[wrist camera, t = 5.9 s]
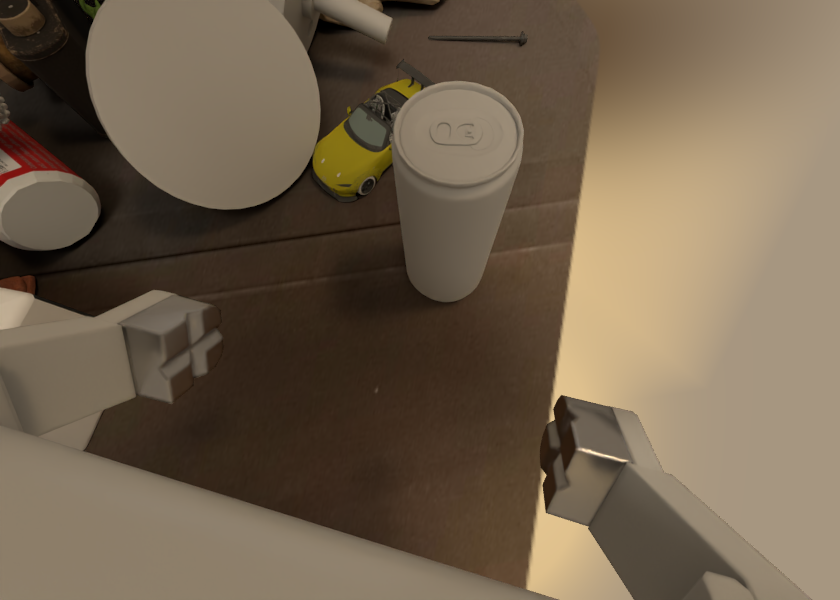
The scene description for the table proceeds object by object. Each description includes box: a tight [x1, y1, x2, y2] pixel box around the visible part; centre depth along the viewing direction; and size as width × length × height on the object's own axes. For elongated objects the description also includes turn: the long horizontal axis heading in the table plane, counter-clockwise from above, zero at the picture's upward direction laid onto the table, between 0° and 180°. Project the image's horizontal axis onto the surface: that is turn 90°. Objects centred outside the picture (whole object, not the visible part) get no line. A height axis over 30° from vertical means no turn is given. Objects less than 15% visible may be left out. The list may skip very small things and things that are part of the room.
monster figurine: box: [79, 0, 321, 210], centre depth 25 cm, size 12×12×10 cm
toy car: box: [312, 59, 435, 202], centre depth 26 cm, size 5×10×3 cm, turn 136°
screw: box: [428, 31, 527, 46], centre depth 31 cm, size 8×1×1 cm
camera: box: [0, 0, 109, 138], centre depth 27 cm, size 16×7×8 cm, turn 35°
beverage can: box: [391, 81, 524, 302], centre depth 19 cm, size 5×5×12 cm
